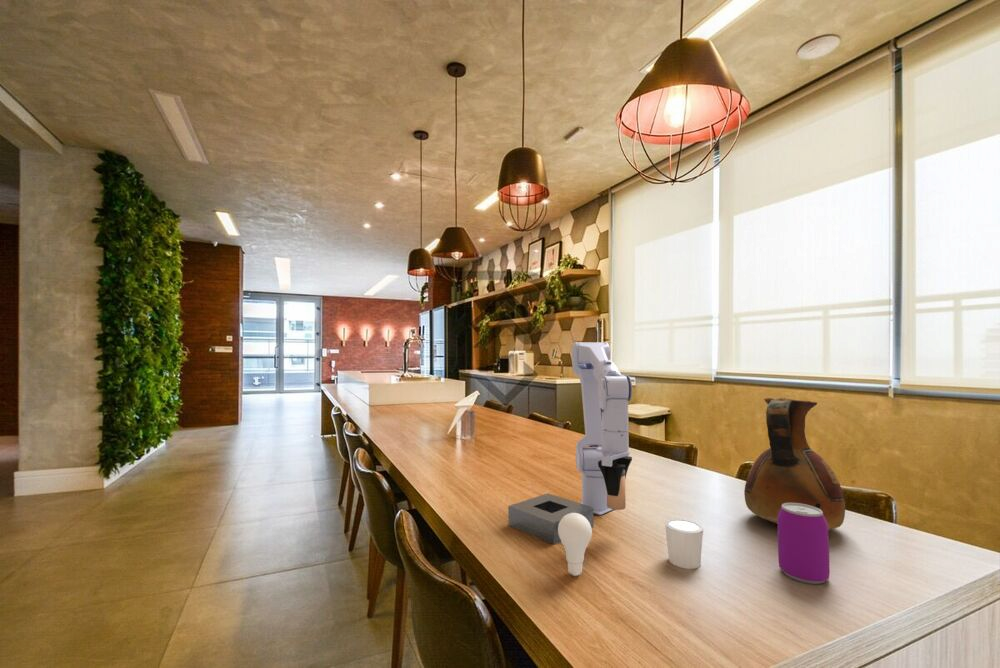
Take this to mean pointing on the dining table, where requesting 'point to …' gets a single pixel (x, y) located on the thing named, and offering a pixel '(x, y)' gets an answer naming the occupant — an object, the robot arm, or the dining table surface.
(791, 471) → the ceramic pitcher
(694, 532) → the shot glass
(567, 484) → the dining table surface
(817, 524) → the beverage can
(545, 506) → the block
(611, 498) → the pin
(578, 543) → the lightbulb
